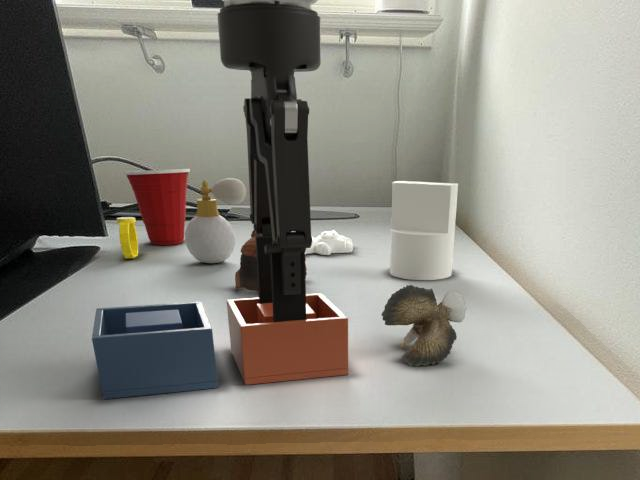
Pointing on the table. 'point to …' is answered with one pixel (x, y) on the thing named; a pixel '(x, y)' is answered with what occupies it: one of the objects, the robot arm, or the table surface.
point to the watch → (128, 236)
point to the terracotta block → (267, 312)
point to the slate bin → (154, 353)
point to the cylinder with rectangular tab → (422, 229)
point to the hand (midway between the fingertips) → (281, 318)
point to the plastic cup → (161, 203)
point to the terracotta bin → (288, 342)
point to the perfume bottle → (213, 222)
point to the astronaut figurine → (330, 244)
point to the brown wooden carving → (249, 266)
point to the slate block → (153, 321)
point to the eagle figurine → (425, 322)
